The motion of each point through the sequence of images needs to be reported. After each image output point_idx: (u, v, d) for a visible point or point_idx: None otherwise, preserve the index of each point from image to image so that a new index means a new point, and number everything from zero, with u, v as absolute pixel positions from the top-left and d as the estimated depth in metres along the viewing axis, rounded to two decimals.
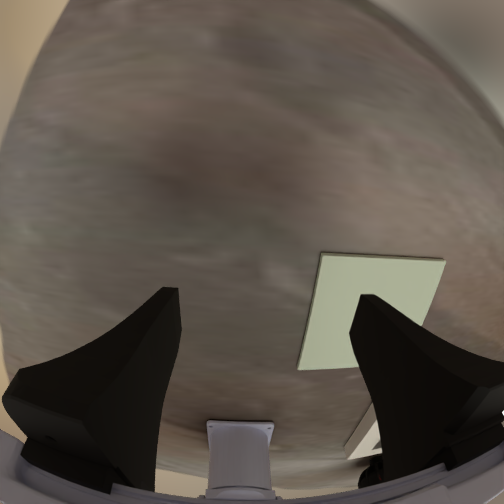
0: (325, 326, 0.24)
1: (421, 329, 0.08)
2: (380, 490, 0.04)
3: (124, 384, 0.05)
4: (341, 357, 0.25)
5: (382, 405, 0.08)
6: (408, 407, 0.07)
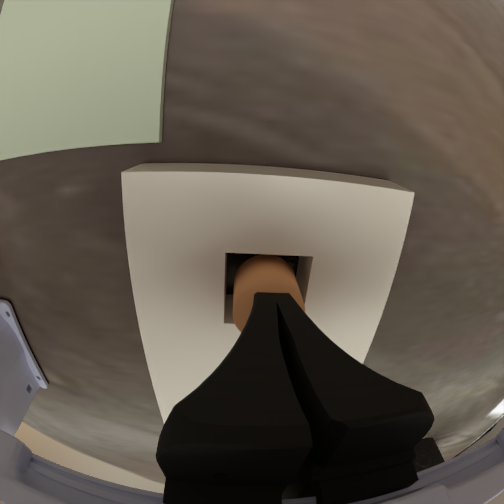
0: (2, 72, 0.09)
1: (320, 335, 0.08)
2: (380, 490, 0.04)
3: None
4: (26, 128, 0.11)
5: None
6: None
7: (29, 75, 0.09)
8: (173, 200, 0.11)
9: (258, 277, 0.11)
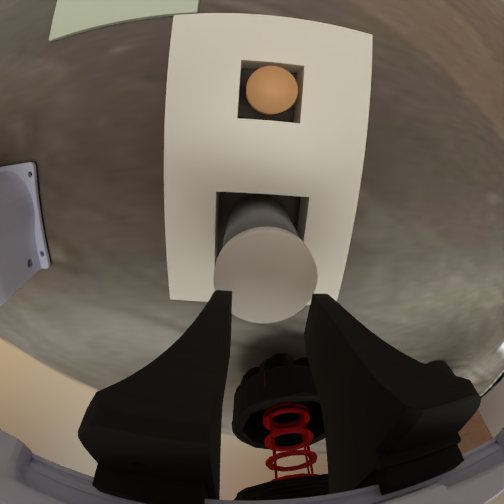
0: None
1: (368, 333, 0.08)
2: (380, 490, 0.04)
3: (216, 395, 0.05)
4: (93, 11, 0.13)
5: (328, 412, 0.08)
6: (347, 418, 0.07)
7: None
8: (208, 28, 0.13)
9: None
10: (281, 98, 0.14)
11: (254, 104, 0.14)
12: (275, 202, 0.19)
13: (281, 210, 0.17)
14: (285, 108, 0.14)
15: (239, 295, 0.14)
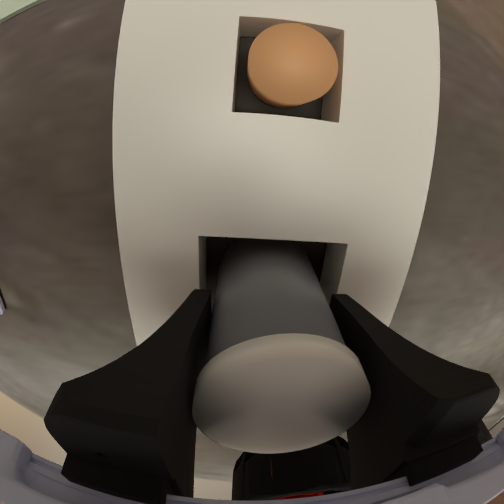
0: None
1: (390, 332, 0.08)
2: (380, 490, 0.04)
3: (178, 392, 0.05)
4: None
5: None
6: (373, 414, 0.07)
7: None
8: None
9: None
10: (309, 78, 0.08)
11: (262, 87, 0.08)
12: (292, 247, 0.12)
13: (303, 265, 0.11)
14: (317, 95, 0.08)
15: (238, 430, 0.07)
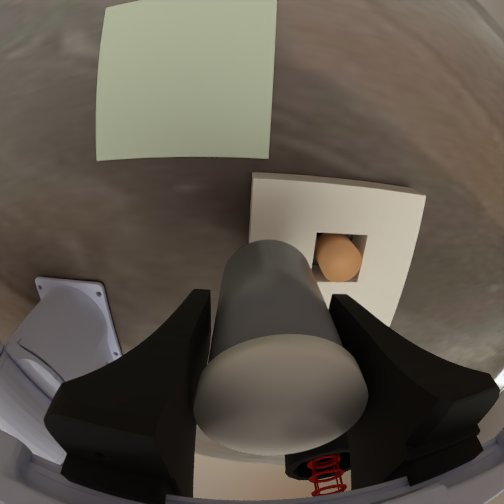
0: (115, 83, 0.15)
1: (390, 332, 0.08)
2: (380, 490, 0.04)
3: (178, 392, 0.05)
4: (148, 135, 0.17)
5: None
6: (373, 414, 0.07)
7: (149, 91, 0.16)
8: (288, 198, 0.17)
9: (335, 241, 0.18)
10: (347, 270, 0.19)
11: (326, 276, 0.19)
12: (291, 254, 0.12)
13: (302, 270, 0.11)
14: (349, 278, 0.19)
15: (239, 432, 0.07)
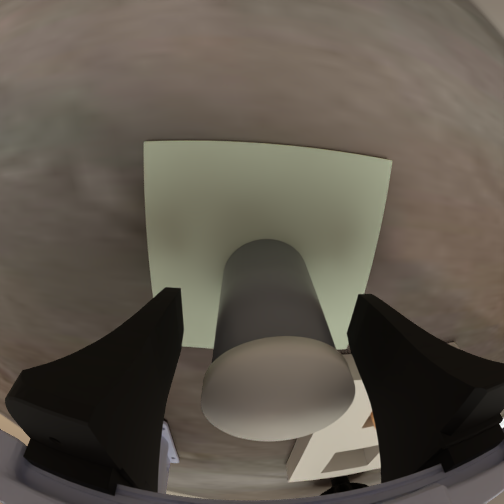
0: (177, 270, 0.15)
1: (419, 329, 0.08)
2: (380, 490, 0.04)
3: (128, 385, 0.05)
4: None
5: (379, 405, 0.08)
6: (405, 408, 0.07)
7: None
8: (361, 389, 0.17)
9: None
10: None
11: None
12: (285, 253, 0.13)
13: (295, 269, 0.12)
14: None
15: (243, 421, 0.08)
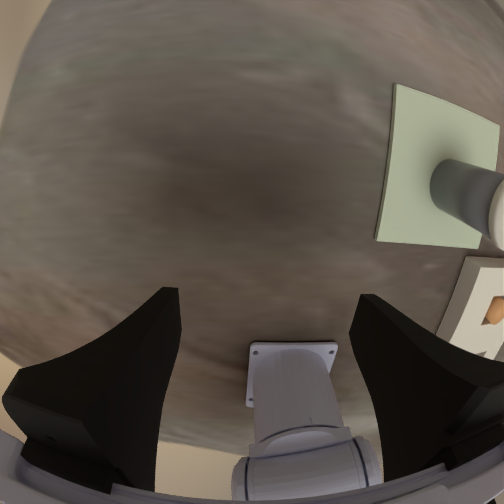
0: (406, 173, 0.19)
1: (421, 329, 0.08)
2: (380, 490, 0.04)
3: (124, 384, 0.05)
4: (422, 226, 0.20)
5: (382, 405, 0.08)
6: (408, 407, 0.07)
7: (429, 190, 0.19)
8: (489, 278, 0.20)
9: (499, 300, 0.21)
10: (500, 317, 0.22)
11: (491, 322, 0.22)
12: None
13: None
14: (499, 321, 0.22)
15: None
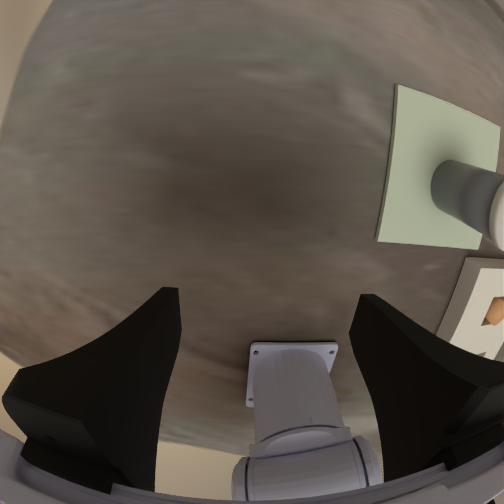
0: (407, 174, 0.19)
1: (421, 329, 0.08)
2: (380, 490, 0.04)
3: (124, 384, 0.05)
4: (423, 227, 0.20)
5: (382, 405, 0.08)
6: (408, 407, 0.07)
7: (430, 190, 0.19)
8: (489, 279, 0.20)
9: (499, 301, 0.21)
10: (500, 318, 0.22)
11: (491, 323, 0.22)
12: None
13: None
14: (499, 322, 0.22)
15: None
